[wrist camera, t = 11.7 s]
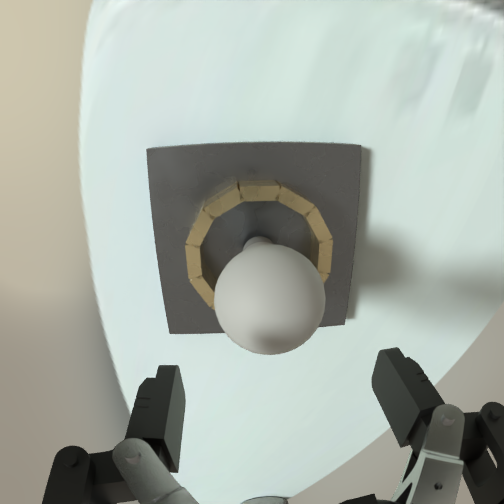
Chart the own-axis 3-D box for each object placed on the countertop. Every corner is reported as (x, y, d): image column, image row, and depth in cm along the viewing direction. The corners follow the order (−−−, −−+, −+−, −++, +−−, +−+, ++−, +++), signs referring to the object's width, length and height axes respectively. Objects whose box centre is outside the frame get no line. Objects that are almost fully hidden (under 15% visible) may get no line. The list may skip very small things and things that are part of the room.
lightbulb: (292, 204, 24) (338, 262, 13) (300, 276, 26) (339, 365, 16) (212, 217, 24) (198, 285, 13) (226, 288, 26) (225, 385, 16)
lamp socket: (340, 316, 30) (352, 340, 26) (172, 324, 29) (165, 351, 25) (354, 143, 24) (374, 147, 20) (151, 147, 23) (136, 151, 19)
